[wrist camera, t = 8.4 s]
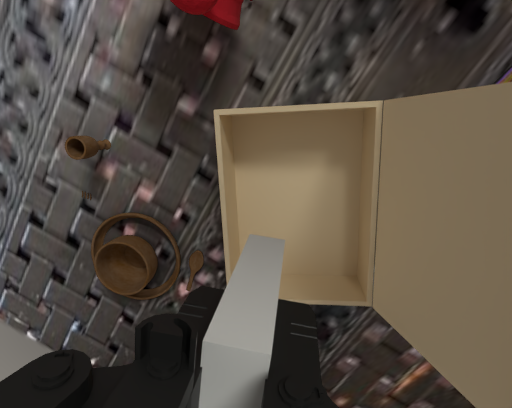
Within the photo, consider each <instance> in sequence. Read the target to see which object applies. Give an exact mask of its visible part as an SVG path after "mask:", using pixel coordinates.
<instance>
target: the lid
mask: <svg viewBox="0 0 512 408" xmlns="http://www.w3.org/2000/svg"><path fill="white" fill-rule="evenodd" d="M373 308H374V309H375V310H376V311H377V312H378V313H379V314H380V315H381V316H382V317H383V318H384V319H385V320H386V321H387V322H388V323H389V324H390V325H391V326H392V327H393V328H394V329H395V330H396V331H397V332H398V333H400V334H401V335H402V336H403V337H404V338H405V339H406V340H407V341H408V342H409V343H410V344H411V345H412V346H413V347H414V348H415V349H416V350H417V351H418V352H419V353H420V354H421V355H422V356H423V357H424V358H425V359H426V360H427V361H428V362H429V363H430V364H432V365H433V366H434V367H435V368H436V369H437V370H438V371H439V372H440V373H441V374H442V375H443V376H444V377H445V378H446V379H447V380H448V381H449V382H450V383H451V384H452V385H453V386H454V387H455V388H456V389H457V390H458V391H459V392H460V393H461V394H462V395H463V396H465V397H466V398H467V399H468V400H469V401H470V402H471V403H472V404H473V405H474V406H475V407H476V408H512V82H507V83H501V84H494V85H487V86H480V87H473V88H466V89H459V90H452V91H445V92H438V93H431V94H424V95H417V96H410V97H404V98H397V99H390V100H384V108H383V127H382V145H381V163H380V181H379V199H378V217H377V235H376V254H375V272H374V290H373Z"/></svg>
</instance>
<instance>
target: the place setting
mask: <svg viewBox="0 0 512 408" xmlns="http://www.w3.org/2000/svg"><path fill="white" fill-rule="evenodd" d="M110 147H111V143H110V142H109V141H108V140H103V141H96V140H95V139H94V138H92V137H89V136H72V137H69V138H68V139H67V140H66V142H65V150H66V152H67V154H68V155H69V156H70V157H71V158H73V159H76V160H78V159H86V158H90V157H92V156H94V155H96V154H97V152H98V150H103V149H106V150H108V149H110ZM82 197H83V191H82ZM85 198H86V192H85ZM87 198H88V199H89V194H88V195H87ZM90 200H91V194H90ZM126 218H142V219H145V220H148V221H150V222H151V223H153V224H155V225H156V226H157V227H159V228H160V229H161V230H162V231H163V232H164V233H165V234H166V235H167V237H168V238H169V240H170V241H171V243H172V245H173V247H174V250H175V253H176V265H175V269H174V272H173V274H172V276H171V277H170V278H169V280H168V281H167V282H165V283H164V284H163V285H161V286H159V287H156V288H153V289H143V288H144V287H145V286H146V285H147V284H148V283H149V282H150V281H151V279H152V278H153V277H154V275H155V273H156V270H157V264H158V262H157V256H156V253H155V251H154V249H153V248H152V246H151V245H150V244H149V243H148V242H147V241H145V240H144V239H142V238H140V237H137V236H133V235H124V236H120V237H117V238H115V239H113V240H111V241H110V242H108V243H107V244H105V245H103V241H104V237H105V235H106V233H107V231H108V230H109V228H110V227H111V226H112V225H113V224H115V223H116V222H118V221H120V220H122V219H126ZM91 255H92V260H93V264H94V268H95V272H96V275H97V277H98V278H99V280H100V281H101V283H102V284H103V285H104V286H105V287H106V288H108V289H109V290H111V291H112V292H115V293H117V294H121V295H123V296H125V297H128V298H132V299H139V300H146V299H152V298H156V297H158V296H160V295H162V294H164V293H165V292H167V291H168V290H169V289H170V288H171V286H172V285H173V284H174V282H175V281H176V279H177V277H178V274H179V271H180V264H181V258H180V251H179V248H178V245H177V243H176V241H175V239H174V237H173V235H172V234H171V233H170V231H169V230H168V229H167V228H166V227H165V226H164V225H163V224H161V223H160V222H159V221H157V220H155V219H154V218H152V217H149V216H147V215H144V214H140V213H122V214H118V215H115V216H113V217H110V218H109V219H107V220H105V221H104V222H103V223H102V224H101V225H100V226H99V227H98V228H97V230H96V232H95V234H94V236H93V239H92V244H91ZM203 262H204V259H203V254H202V252H201V251H198V250H197V251H195V252H194V253H193V254H192V255H191V256H190V258H189V266H190V269H191V275H190V279H189V282H188V285H187V289H186V290H188V291H190V290H191V286H192V282H193V278H194V275H195V273H196V272H197V271H198V270H200V269H201V267H202V266H203Z"/></svg>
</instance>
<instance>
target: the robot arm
mask: <svg viewBox="0 0 512 408" xmlns="http://www.w3.org/2000/svg"><path fill="white" fill-rule="evenodd" d="M284 246H285V240H283V239H277V238H271V237H265V236H259V235H252V234H250V235H249V237H248V239H247V241H246V244H245V246H244V248H243V251H242V253H241V255H240V257H239V260H238V262H237V264H236V266H235V269H234V271H233V273H232V275H231V278H230V280H229V282H228V285H227V287H226V289H225V290H222V289H216V288H211V287H205V286H200V287H199V288H197V289H196V290H194V291H193V292H191V293H190V294H189V296H188V297H187V299H186V300H185V302H184V305H182V307H181V308H180V310H179V312H178V313H177V314H161V315H155V316H152V317H150V318H148V319H145V320H143V321H142V322H141V323H140V324H139V325H138V326H136V327H135V360H134V362H133V363H131V364H128V365H123V366H116V367H101V368H92V365H91V361H90V358H89V357H88V356H87V355H86V354H85V353H84V352H81V351H77V350H73V349H71V350H58V351H55V352H51V353H48V354H45V355H43V356H41V357H39V358H37V359H35V360H33V361H31V362H30V363H28V364H27V365H25V366H24V367H22V368H21V369H19V370H18V371H16V372H14V373H13V374H12V375H10V376H8V377H7V378H5V379H4V380H2V381H1V382H0V408H339V407H338V406H337V405H336V404H334V403H333V402H332V400H331V399H330V398H329V397H328V395H327V392H326V389H325V388H324V387H323V385H322V381H321V374H320V362H319V350H318V339H317V329H316V327H317V326H316V315H315V314H314V312H313V311H312V309H311V308H310V306H309V305H308V304H304V303H299V302H294V301H288V300H283V299H278V296H279V288H280V279H281V271H282V263H283V254H284Z"/></svg>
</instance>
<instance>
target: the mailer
mask: <svg viewBox="0 0 512 408" xmlns="http://www.w3.org/2000/svg"><path fill="white" fill-rule="evenodd" d="M382 106H383V101H365V102H346V103H328V104H310V105H291V106H273V107H254V108H236V109H218V110H214V122H215V135H216V149H217V162H218V175H219V188H220V202H221V215H222V228H223V241H224V255H225V268H226V281H227V285H228V282H229V280H230V278H231V275H232V273H233V271H234V269H235V266H236V264H237V262H238V260H239V257H240V255H241V253H242V251H243V248H244V246H245V244H246V241H247V239H248V237H249V235H250V234H252V235H259V236H265V237H271V238H277V239H283V240H285V246H284V254H283V263H282V271H281V279H280V288H279V296H278V299H283V300H288V301H294V302H299V303H304V304H318V305H347V306H372V291H373V272H374V254H375V235H376V217H377V198H378V180H379V161H380V143H381V124H382Z"/></svg>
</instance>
